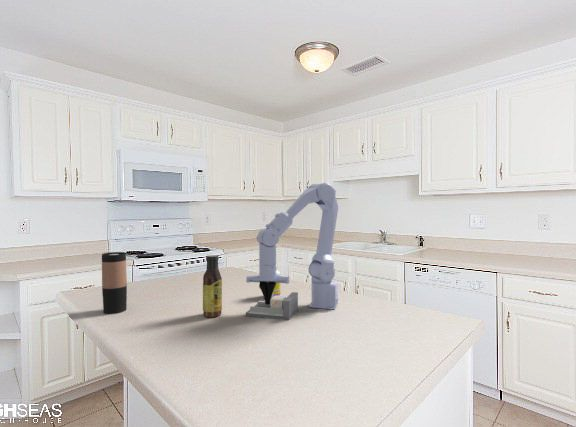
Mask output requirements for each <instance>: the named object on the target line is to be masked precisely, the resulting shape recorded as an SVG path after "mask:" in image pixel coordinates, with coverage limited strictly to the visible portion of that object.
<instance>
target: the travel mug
mask: <svg viewBox="0 0 576 427" xmlns="http://www.w3.org/2000/svg"><path fill="white" fill-rule="evenodd" d="M127 275H128V274H127V252H126V251H125V252H123V251H114V252H105V253H102V254H101V289H102V290H101V291H102V292H101V294H102V309H103V313H104V314H106V315H115V314H120V313H123V312H126V311H127V303H128V302H127V300H128V296H127V294H128V283H127V282H128V281H127V280H128V277H127Z"/></svg>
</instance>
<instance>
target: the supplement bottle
mask: <svg viewBox="0 0 576 427" xmlns="http://www.w3.org/2000/svg"><path fill="white" fill-rule="evenodd" d="M278 268H279V267H278V264H277V263H276V276H281V272H280V270H278ZM274 296H281V283H276V286H275V288H274V290H273V293H272V297H271V299H272V298H273V297H274Z"/></svg>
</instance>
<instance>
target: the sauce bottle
mask: <svg viewBox="0 0 576 427" xmlns="http://www.w3.org/2000/svg"><path fill="white" fill-rule="evenodd" d="M205 257H206V260H205V261H206V270H205V272H204V274H203V277H202V281H203V282H202V312H203V317H205V318H216V317H220V316H221V315H222V311H223V310H222V309H223V278H222V275H221V273H220V270H219V258H220V256H219V255H218V254H209V255H206V256H205Z"/></svg>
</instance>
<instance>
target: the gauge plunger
mask: <svg viewBox="0 0 576 427" xmlns="http://www.w3.org/2000/svg"><path fill="white" fill-rule="evenodd" d="M286 298H287V295H280V296H274V297H273V298H272V299H270V308H276V309H283V301H284V300H285V299H286Z"/></svg>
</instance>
